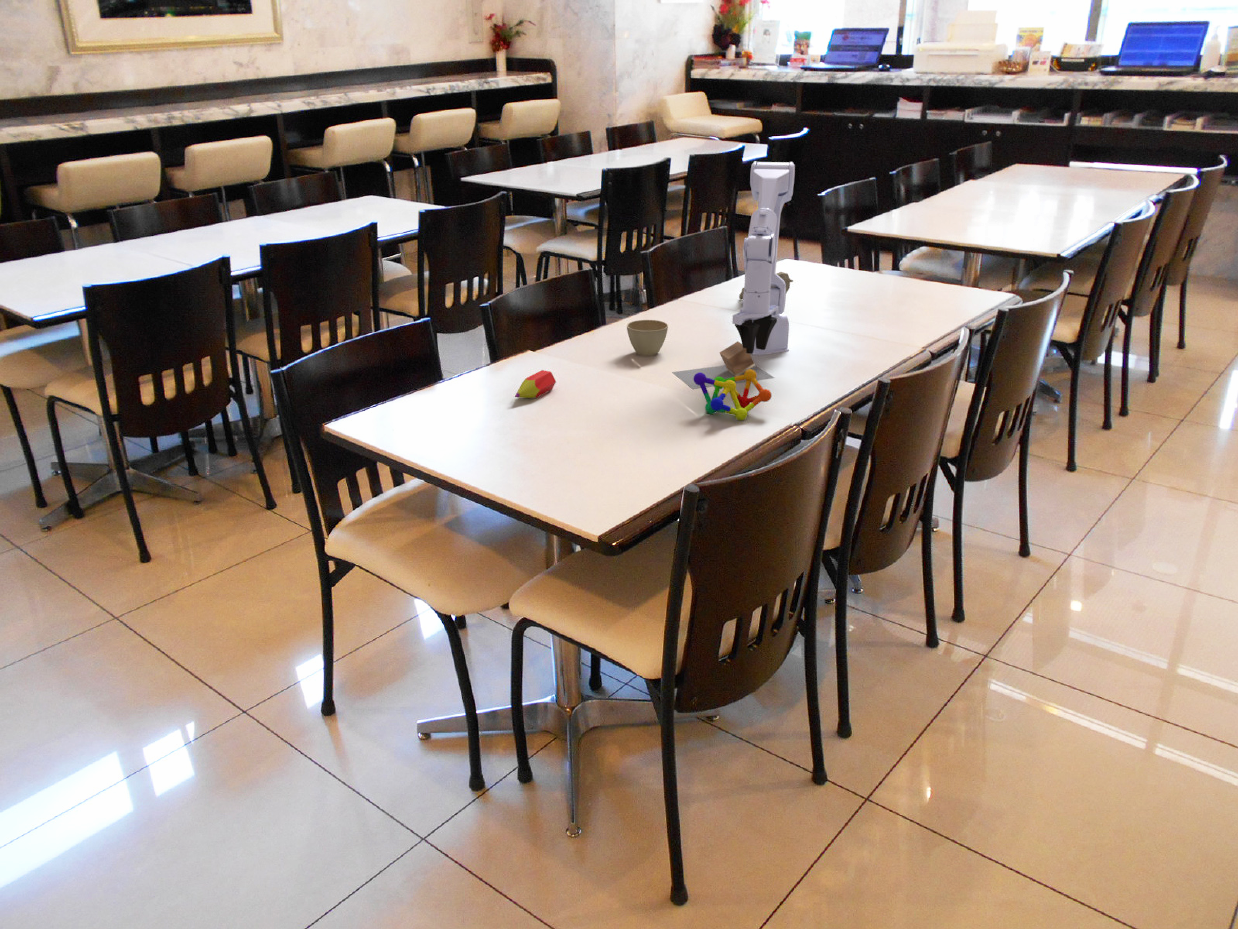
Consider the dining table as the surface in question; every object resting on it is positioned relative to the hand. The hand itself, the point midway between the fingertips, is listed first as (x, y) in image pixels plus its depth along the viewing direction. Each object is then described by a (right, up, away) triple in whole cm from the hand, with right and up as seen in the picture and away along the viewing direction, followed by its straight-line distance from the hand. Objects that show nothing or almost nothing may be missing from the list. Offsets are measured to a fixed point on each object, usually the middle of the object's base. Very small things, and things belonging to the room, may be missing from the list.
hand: (754, 350), depth 212 cm
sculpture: (+9, +17, +51) cm, 54 cm away
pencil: (-50, -11, -8) cm, 51 cm away
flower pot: (-24, +1, +18) cm, 30 cm away
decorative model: (-8, -15, -19) cm, 25 cm away
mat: (-7, -6, +2) cm, 9 cm away
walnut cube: (-3, -4, +2) cm, 5 cm away
